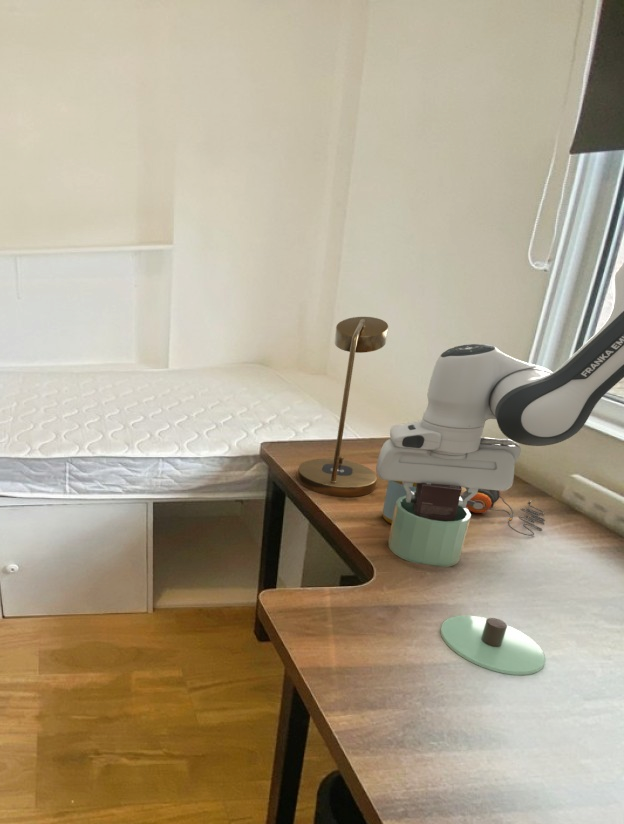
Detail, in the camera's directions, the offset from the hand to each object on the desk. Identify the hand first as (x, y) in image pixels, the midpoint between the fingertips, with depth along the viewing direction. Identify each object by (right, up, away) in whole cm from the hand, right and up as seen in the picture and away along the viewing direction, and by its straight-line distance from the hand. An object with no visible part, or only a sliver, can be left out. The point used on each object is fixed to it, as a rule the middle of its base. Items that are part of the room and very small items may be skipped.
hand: (434, 504), depth 104 cm
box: (0, -2, +1) cm, 3 cm away
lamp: (+3, +4, +37) cm, 38 cm away
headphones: (+23, -3, +16) cm, 29 cm away
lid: (-7, -19, -20) cm, 29 cm away
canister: (+1, -10, +4) cm, 10 cm away
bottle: (+4, -5, +15) cm, 16 cm away
